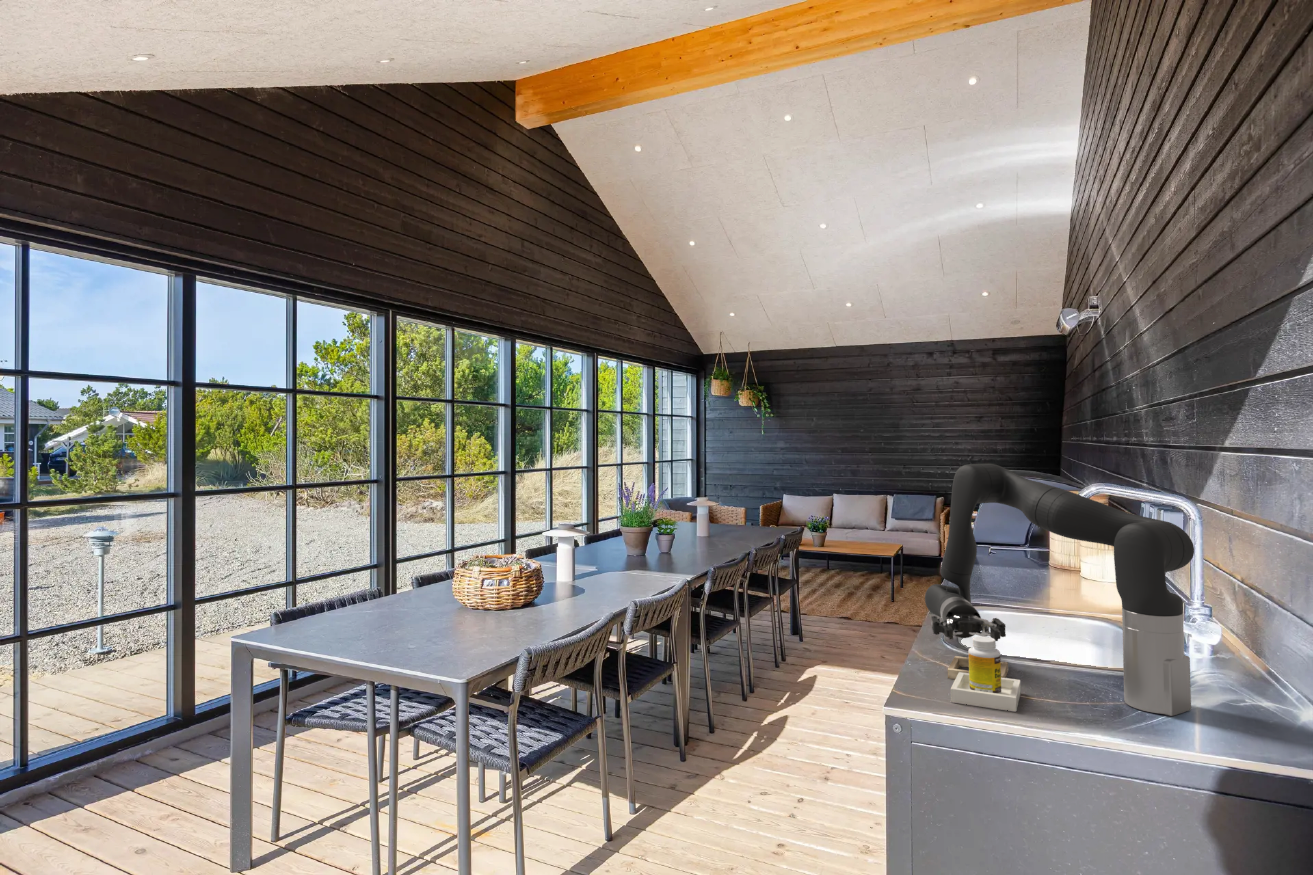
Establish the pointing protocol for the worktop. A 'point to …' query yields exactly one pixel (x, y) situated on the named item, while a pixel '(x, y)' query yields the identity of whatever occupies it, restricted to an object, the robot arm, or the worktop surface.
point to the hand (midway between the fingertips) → (973, 635)
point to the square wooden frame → (964, 662)
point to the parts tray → (986, 694)
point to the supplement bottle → (984, 665)
